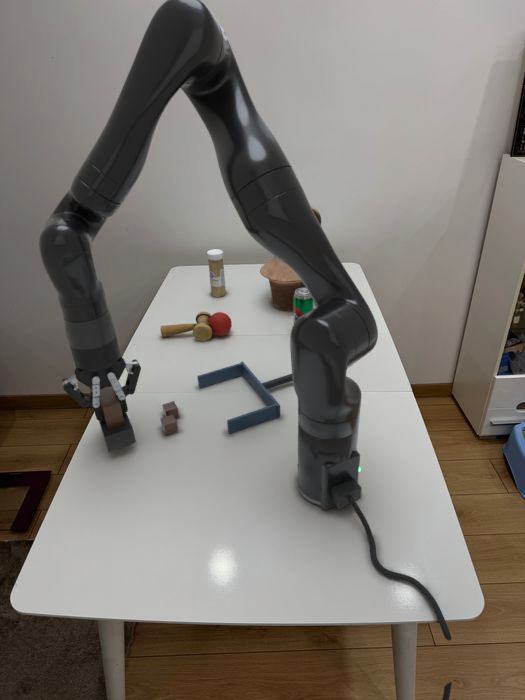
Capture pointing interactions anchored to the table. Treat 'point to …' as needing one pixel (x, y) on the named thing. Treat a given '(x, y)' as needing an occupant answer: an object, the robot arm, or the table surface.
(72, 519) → the table surface
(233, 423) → the frame
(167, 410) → the crumb
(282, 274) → the pitcher
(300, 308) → the soda can
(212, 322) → the kendama
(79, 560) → the table surface
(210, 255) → the sprinkles bottle
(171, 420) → the crumb
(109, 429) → the eraser
